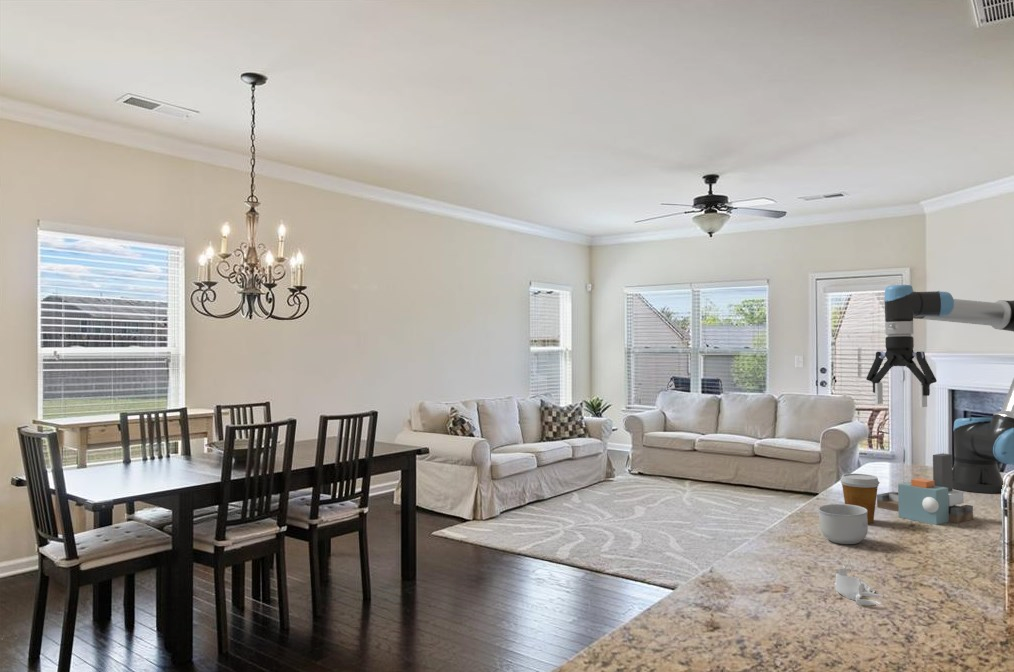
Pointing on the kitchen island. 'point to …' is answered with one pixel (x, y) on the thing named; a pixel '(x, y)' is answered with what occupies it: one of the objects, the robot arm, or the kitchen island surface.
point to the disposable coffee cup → (861, 492)
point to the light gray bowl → (843, 523)
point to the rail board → (896, 508)
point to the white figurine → (854, 588)
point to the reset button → (922, 483)
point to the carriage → (946, 477)
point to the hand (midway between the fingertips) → (900, 405)
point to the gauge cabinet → (923, 503)
